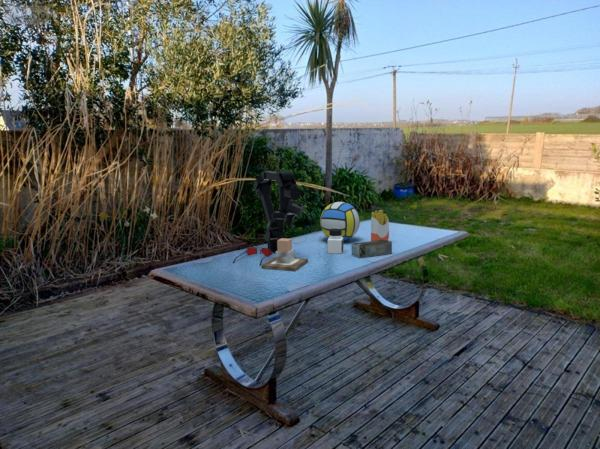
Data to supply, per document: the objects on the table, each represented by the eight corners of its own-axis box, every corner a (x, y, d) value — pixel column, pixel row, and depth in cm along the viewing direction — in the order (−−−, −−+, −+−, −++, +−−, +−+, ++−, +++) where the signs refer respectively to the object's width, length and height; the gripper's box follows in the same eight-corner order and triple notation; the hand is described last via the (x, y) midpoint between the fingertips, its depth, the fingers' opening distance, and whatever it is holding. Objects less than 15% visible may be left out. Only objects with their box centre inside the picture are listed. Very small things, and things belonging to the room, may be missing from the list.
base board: (261, 268, 187) (260, 253, 185) (276, 259, 201) (275, 245, 200) (295, 271, 181) (295, 255, 180) (308, 261, 196) (307, 247, 195)
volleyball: (365, 238, 243) (366, 200, 240) (348, 246, 225) (348, 205, 222) (332, 235, 255) (331, 199, 251) (313, 242, 237) (312, 203, 233)
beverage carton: (350, 255, 208) (350, 241, 206) (383, 250, 215) (383, 238, 214) (359, 258, 200) (359, 245, 199) (392, 254, 208) (393, 241, 207)
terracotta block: (277, 251, 189) (277, 240, 188) (281, 249, 193) (281, 238, 192) (288, 252, 187) (287, 241, 186) (292, 249, 191) (291, 238, 191)
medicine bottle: (341, 253, 209) (341, 230, 207) (327, 253, 211) (327, 229, 209) (343, 250, 216) (343, 227, 214) (329, 250, 218) (329, 227, 216)
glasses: (273, 257, 207) (272, 247, 206) (260, 266, 192) (259, 255, 191) (246, 256, 211) (246, 246, 210) (232, 264, 196) (231, 254, 195)
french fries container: (389, 242, 233) (389, 210, 229) (377, 245, 225) (378, 212, 222) (382, 241, 236) (382, 209, 233) (370, 244, 228) (370, 211, 225)
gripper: (293, 201, 189) (294, 235, 192) (307, 196, 207) (308, 228, 209) (270, 200, 193) (272, 234, 196) (286, 196, 210) (287, 227, 213)
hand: (285, 230), depth 203 cm, fingers open, 9 cm apart
